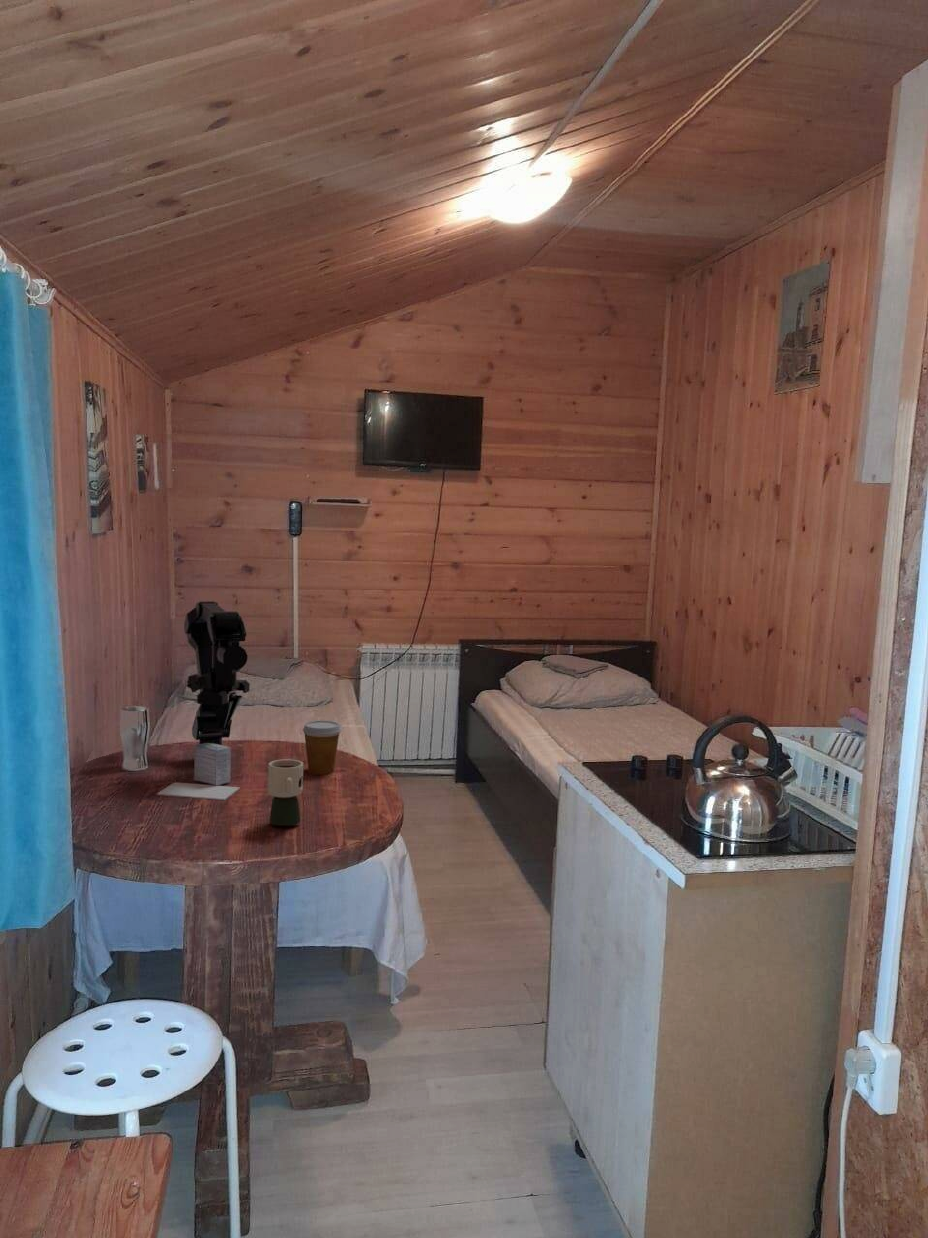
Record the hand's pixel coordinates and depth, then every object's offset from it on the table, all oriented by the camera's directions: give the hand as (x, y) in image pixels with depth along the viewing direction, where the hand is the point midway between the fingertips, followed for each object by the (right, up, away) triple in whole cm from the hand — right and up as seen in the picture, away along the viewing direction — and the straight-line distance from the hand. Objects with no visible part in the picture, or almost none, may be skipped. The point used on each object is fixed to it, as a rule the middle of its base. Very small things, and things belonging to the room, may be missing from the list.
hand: (223, 726), depth 222 cm
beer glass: (-23, -11, +4) cm, 26 cm away
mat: (-2, -13, -13) cm, 19 cm away
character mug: (+21, -17, -32) cm, 42 cm away
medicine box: (-1, -13, -6) cm, 14 cm away
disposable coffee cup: (+22, -12, +7) cm, 27 cm away
